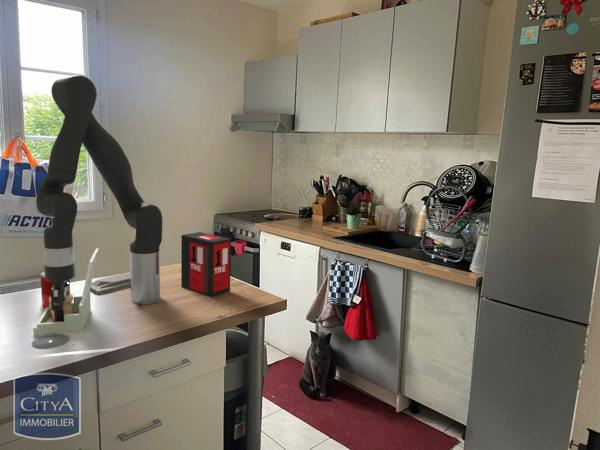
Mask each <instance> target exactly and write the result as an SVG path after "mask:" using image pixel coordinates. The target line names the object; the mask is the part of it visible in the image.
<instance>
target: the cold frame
mask: <svg viewBox="0 0 600 450" xmlns="http://www.w3.org/2000/svg"><path fill="white" fill-rule="evenodd" d="M82 296H83V295H73V301H72V314H66V315H64V322H52V312H51V304H49V307H47V308H46V307H45V309H44V311H43V312H42V313H41V315H40V317H39V319H38V320H37V321H36V324H35V325H34V326H33V336H39V335H42V336H44V335H49V334H65V333H66V334H68V333H78V332H84V330H85V327H86V324H87V322H88V319H89V316H90V314H91V310H92V309H91V291H90V289H89V291H88V294H87V296H86V299H85V301H84V303H83V304H81V300H82Z"/></svg>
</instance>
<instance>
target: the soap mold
mask: <svg viewBox="0 0 600 450" xmlns="http://www.w3.org/2000/svg"><path fill="white" fill-rule="evenodd" d="M128 288H131V273H124V274H119V275H115V276H110V277H107V278H106V277H105V278H102V279H97V280H94V281H92V283H91V287H90V293H93V294H96V295H97V296H101V295H104V294H109V293H112V292H116V291H119V290H125V289H128Z"/></svg>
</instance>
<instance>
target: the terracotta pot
mask: <svg viewBox="0 0 600 450" xmlns="http://www.w3.org/2000/svg"><path fill="white" fill-rule="evenodd" d="M73 301H74V295H73V294H72V293H70V294H67V295H66V302H64V315H66V314H72V302H73ZM49 302H50V303H51V297H50V298H49ZM56 306H60V305H59V302H57V303H56ZM51 308H52V306H51ZM51 312H52V322H55V316H54V311H52V309H51Z"/></svg>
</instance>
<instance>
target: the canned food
mask: <svg viewBox="0 0 600 450" xmlns="http://www.w3.org/2000/svg"><path fill="white" fill-rule="evenodd" d="M53 285H54V282H52V281H48V280H46V279H45V270H44V271H43V272H41V273H40V288H41V289H40V290H41V291H40V292H41V305H42V306H43V308H45V309H46V308H47V307H49V304H51V303H50V302H49V298H50V297H51V293H50V291H51V289H52V286H53Z"/></svg>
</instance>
